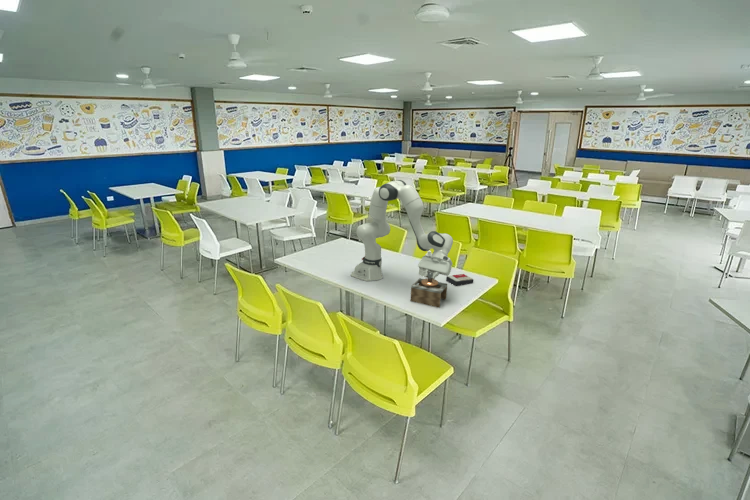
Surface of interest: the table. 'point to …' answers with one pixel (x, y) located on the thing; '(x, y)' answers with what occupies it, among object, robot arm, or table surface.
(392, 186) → the robot arm
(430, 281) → the spinning top
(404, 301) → the table surface
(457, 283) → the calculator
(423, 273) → the white ridged cone
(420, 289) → the wood and metal frame
